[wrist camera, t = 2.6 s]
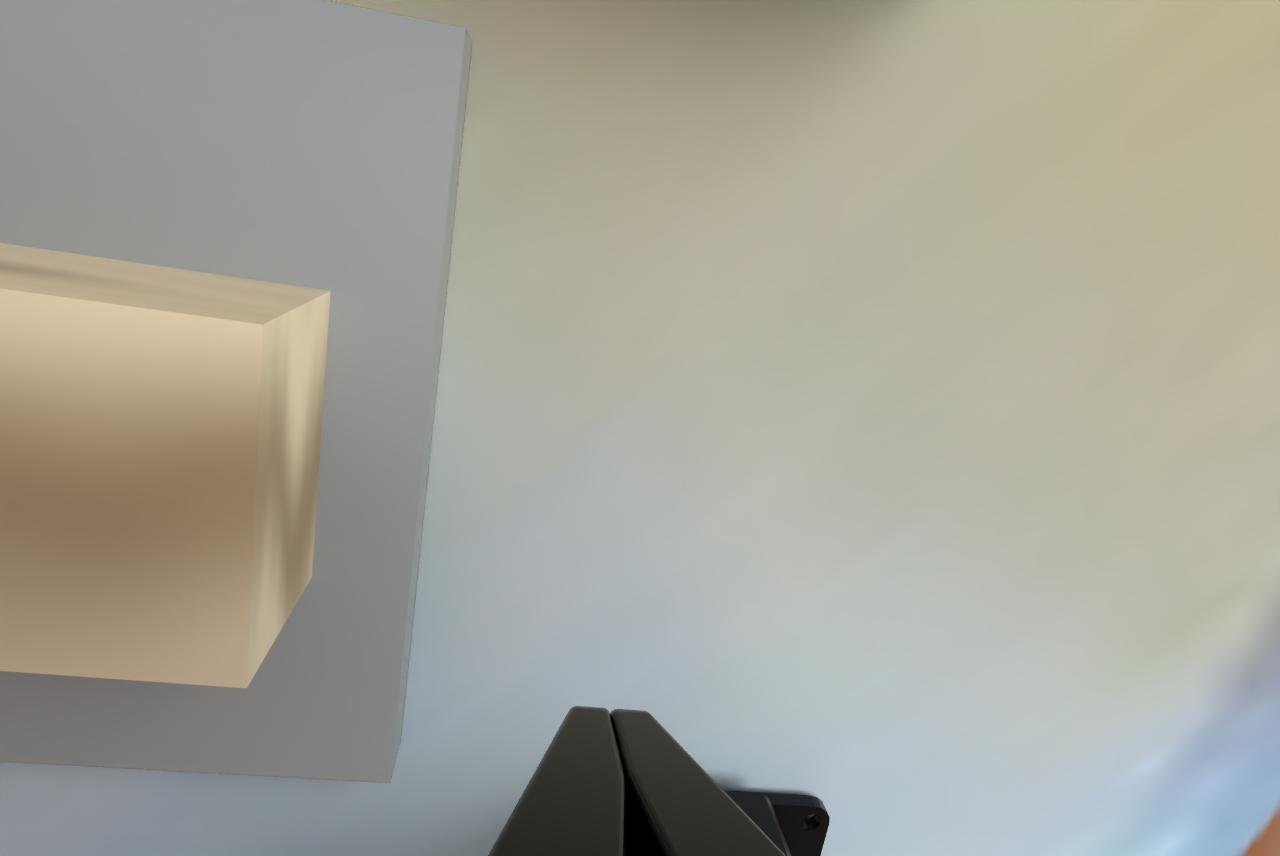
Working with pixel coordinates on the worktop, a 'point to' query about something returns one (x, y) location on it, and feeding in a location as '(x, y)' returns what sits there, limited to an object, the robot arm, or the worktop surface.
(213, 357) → the maple block
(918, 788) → the worktop surface
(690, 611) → the worktop surface
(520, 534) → the worktop surface
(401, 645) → the trap runway
